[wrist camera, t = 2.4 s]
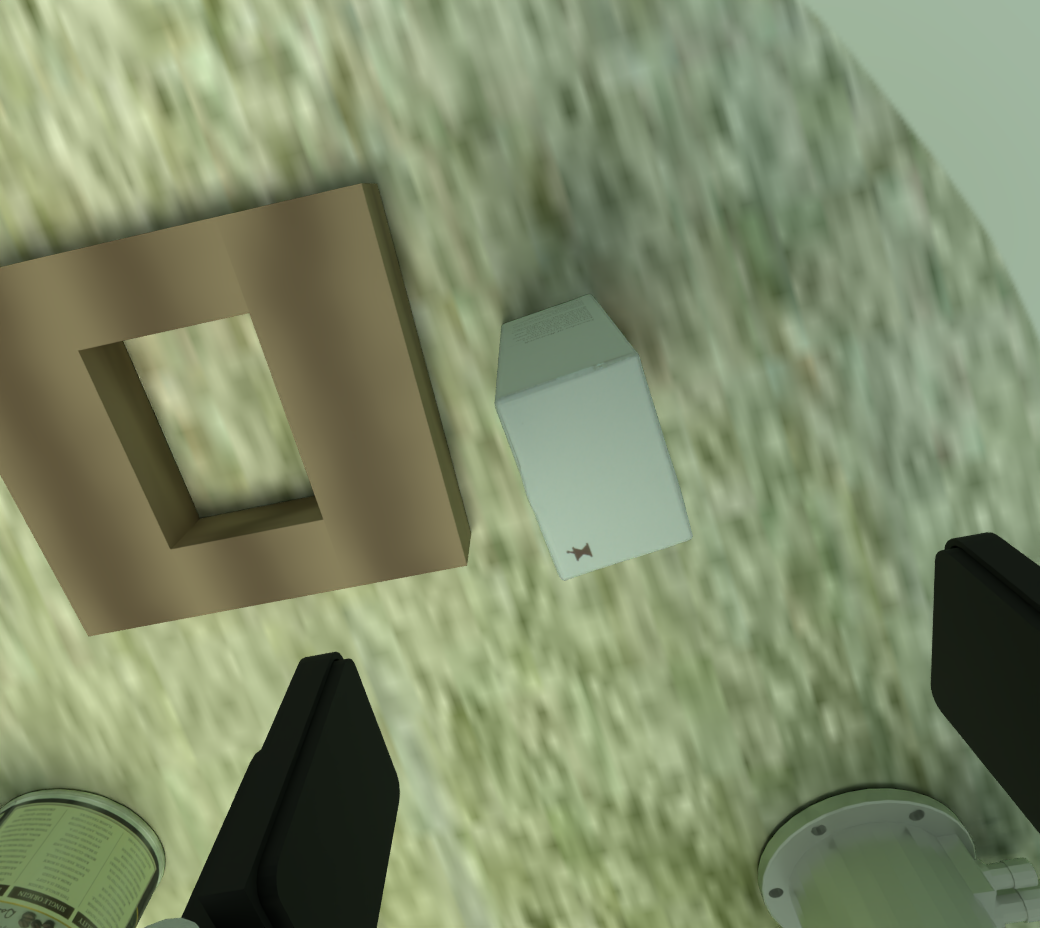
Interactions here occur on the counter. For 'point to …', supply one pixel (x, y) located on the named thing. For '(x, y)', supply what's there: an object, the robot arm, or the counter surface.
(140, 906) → the coffee can
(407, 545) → the brown wooden square frame
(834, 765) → the counter surface
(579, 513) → the skincare box
